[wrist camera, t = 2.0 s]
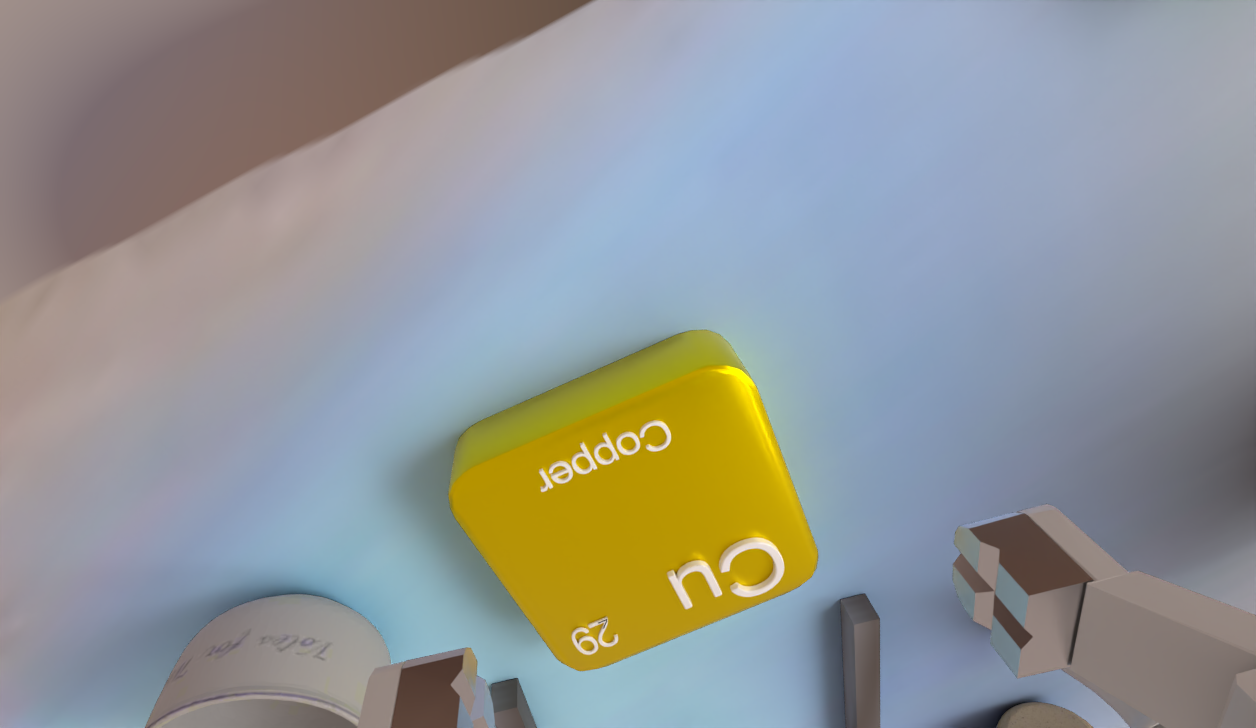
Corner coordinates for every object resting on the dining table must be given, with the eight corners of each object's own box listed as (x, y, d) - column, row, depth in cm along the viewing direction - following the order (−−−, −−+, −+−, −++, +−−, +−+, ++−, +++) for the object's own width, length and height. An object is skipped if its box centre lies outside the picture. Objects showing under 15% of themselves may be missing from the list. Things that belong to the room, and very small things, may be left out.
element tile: (718, 312, 33) (747, 356, 28) (800, 525, 40) (833, 586, 35) (439, 434, 34) (427, 494, 29) (567, 621, 41) (572, 691, 36)
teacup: (353, 538, 35) (312, 668, 28) (437, 669, 40) (420, 807, 33) (100, 619, 35) (-5, 769, 28) (216, 739, 40) (151, 892, 33)
